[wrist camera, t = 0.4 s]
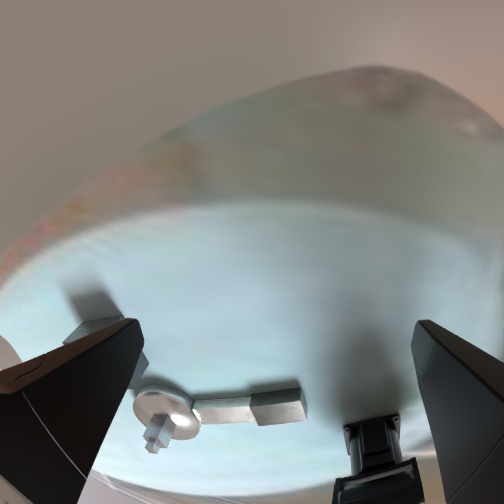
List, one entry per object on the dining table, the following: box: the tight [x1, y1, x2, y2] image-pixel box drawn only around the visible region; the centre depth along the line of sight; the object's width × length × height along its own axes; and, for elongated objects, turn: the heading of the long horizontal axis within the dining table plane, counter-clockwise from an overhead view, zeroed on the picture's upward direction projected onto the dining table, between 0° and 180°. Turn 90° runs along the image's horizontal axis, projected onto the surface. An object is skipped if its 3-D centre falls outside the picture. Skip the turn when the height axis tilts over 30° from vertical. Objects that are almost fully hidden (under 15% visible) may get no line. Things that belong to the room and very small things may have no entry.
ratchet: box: [133, 385, 307, 454], centre depth 27 cm, size 8×20×6 cm, turn 107°
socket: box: [62, 315, 149, 389], centre depth 27 cm, size 6×6×4 cm
